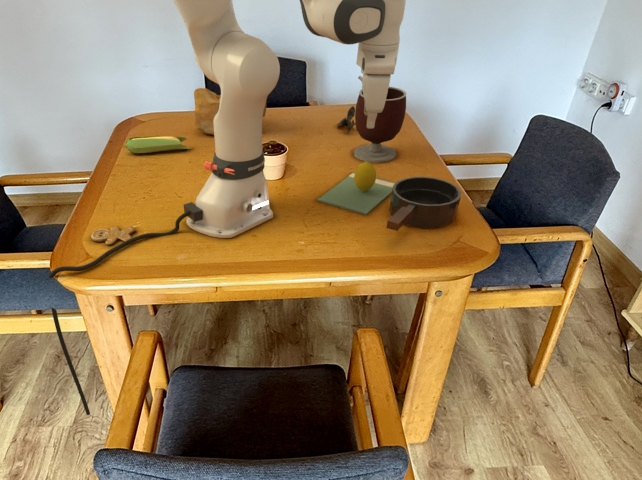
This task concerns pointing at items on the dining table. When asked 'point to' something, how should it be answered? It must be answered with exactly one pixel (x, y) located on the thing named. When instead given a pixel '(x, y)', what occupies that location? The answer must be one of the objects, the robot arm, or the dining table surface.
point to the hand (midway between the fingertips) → (368, 120)
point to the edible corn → (154, 144)
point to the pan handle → (400, 217)
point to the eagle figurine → (348, 120)
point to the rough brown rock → (207, 109)
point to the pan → (426, 201)
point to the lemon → (365, 176)
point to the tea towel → (357, 195)
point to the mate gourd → (380, 126)
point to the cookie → (112, 235)
